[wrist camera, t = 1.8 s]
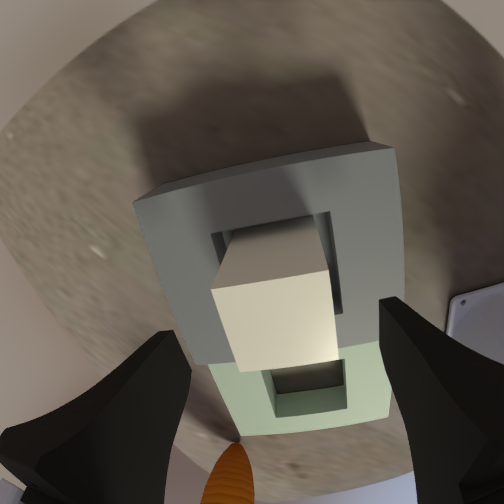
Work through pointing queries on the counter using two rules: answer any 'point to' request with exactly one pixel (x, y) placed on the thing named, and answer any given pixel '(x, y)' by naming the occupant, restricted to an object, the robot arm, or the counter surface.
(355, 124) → the counter surface
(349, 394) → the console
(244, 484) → the carrot
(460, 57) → the counter surface
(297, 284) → the peg
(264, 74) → the counter surface
